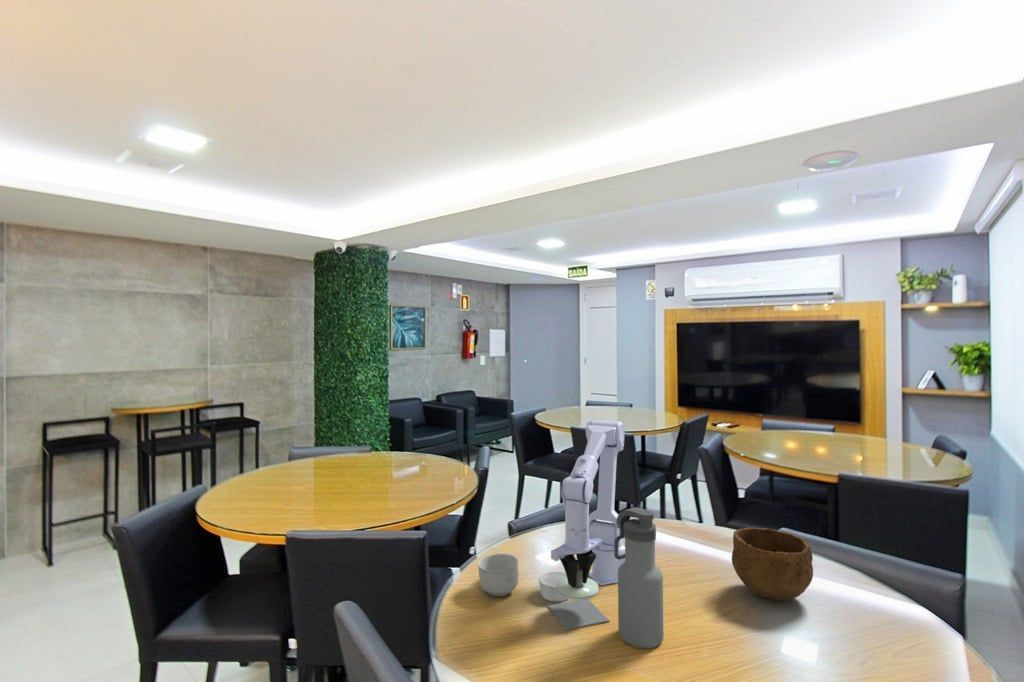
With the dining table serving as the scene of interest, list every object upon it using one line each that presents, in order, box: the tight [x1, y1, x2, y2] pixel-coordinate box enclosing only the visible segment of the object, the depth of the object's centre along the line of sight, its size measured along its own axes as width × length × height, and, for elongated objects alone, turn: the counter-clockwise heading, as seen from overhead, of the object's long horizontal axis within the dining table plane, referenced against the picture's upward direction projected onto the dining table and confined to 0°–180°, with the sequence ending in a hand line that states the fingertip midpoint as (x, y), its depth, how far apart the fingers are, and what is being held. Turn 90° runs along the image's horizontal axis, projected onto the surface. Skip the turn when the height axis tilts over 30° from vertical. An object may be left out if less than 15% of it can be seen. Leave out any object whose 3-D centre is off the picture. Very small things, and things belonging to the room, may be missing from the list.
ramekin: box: [538, 570, 569, 602], centre depth 130 cm, size 9×9×4 cm
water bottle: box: [614, 507, 665, 649], centre depth 111 cm, size 10×10×28 cm
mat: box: [547, 598, 610, 631], centre depth 120 cm, size 11×11×1 cm
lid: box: [556, 567, 600, 600], centre depth 120 cm, size 10×10×5 cm
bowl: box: [731, 527, 814, 601], centre depth 129 cm, size 19×19×15 cm
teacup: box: [477, 550, 519, 597], centre depth 133 cm, size 14×11×8 cm
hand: (577, 583), depth 120 cm, fingers closed on lid, 3 cm apart
